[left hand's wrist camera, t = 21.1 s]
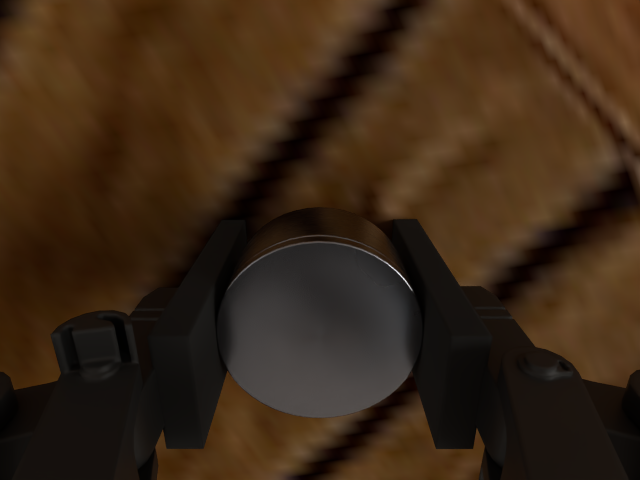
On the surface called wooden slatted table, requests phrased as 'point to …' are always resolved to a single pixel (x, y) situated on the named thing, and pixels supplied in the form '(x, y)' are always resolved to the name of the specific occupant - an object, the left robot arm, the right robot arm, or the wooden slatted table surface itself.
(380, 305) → the lid
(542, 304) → the wooden slatted table surface
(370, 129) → the wooden slatted table surface
